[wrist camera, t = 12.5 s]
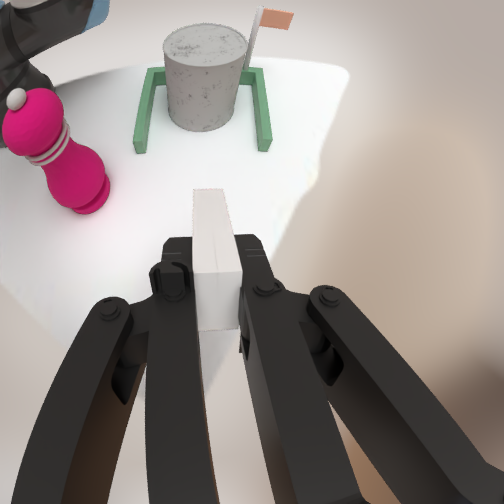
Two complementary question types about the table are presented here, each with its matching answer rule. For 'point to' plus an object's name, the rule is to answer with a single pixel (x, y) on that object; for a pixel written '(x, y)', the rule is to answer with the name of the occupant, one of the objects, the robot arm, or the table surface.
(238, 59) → the concrete cylinder
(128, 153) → the table surface
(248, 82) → the putting stop
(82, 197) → the pepper mill
